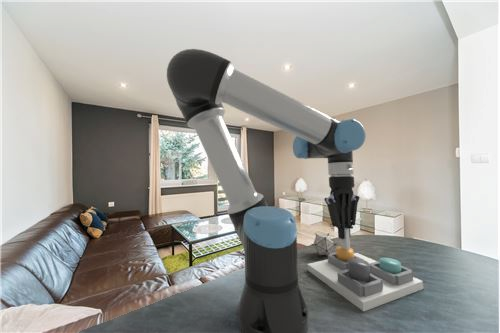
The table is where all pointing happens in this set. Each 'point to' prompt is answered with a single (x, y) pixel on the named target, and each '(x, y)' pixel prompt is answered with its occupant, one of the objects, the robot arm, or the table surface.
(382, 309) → the table surface
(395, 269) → the teal button
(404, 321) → the table surface
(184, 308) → the table surface
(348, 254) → the orange button
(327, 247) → the grey spiky polyhedron
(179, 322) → the table surface
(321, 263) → the panel
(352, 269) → the charcoal button
